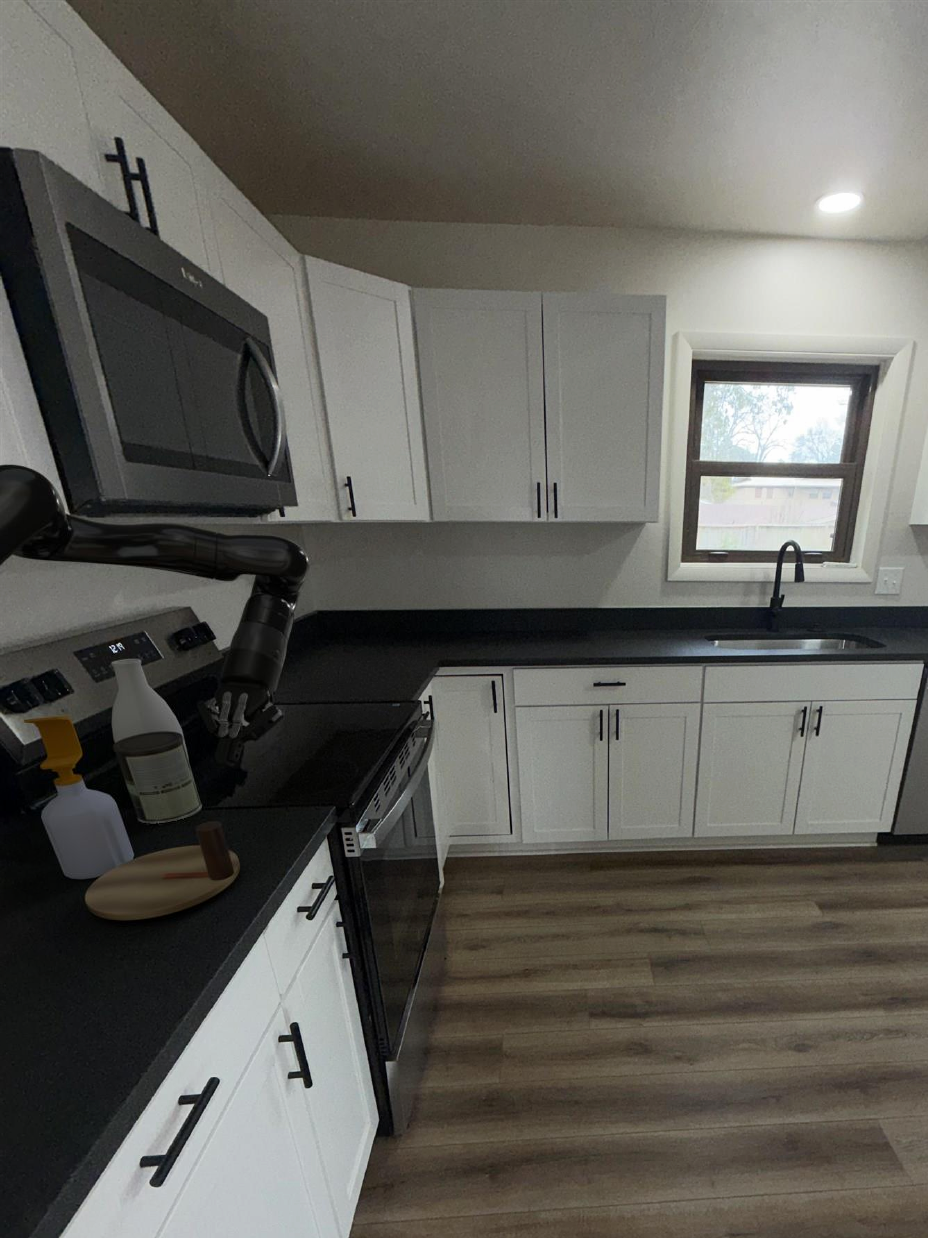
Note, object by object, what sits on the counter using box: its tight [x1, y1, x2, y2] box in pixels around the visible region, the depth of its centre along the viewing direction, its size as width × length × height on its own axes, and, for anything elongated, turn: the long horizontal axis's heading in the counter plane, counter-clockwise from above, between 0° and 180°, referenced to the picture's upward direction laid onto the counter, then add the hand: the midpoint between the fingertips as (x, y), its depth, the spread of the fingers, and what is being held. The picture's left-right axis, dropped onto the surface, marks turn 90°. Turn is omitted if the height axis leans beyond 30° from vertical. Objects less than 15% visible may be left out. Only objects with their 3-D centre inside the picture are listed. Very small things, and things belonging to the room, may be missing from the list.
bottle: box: [110, 658, 190, 762], centre depth 123 cm, size 11×11×25 cm
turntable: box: [84, 820, 241, 921], centre depth 92 cm, size 19×19×9 cm
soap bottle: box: [23, 716, 135, 880], centre depth 95 cm, size 9×9×25 cm
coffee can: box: [112, 731, 203, 825], centre depth 115 cm, size 10×10×14 cm
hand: (224, 764), depth 93 cm, fingers closed
